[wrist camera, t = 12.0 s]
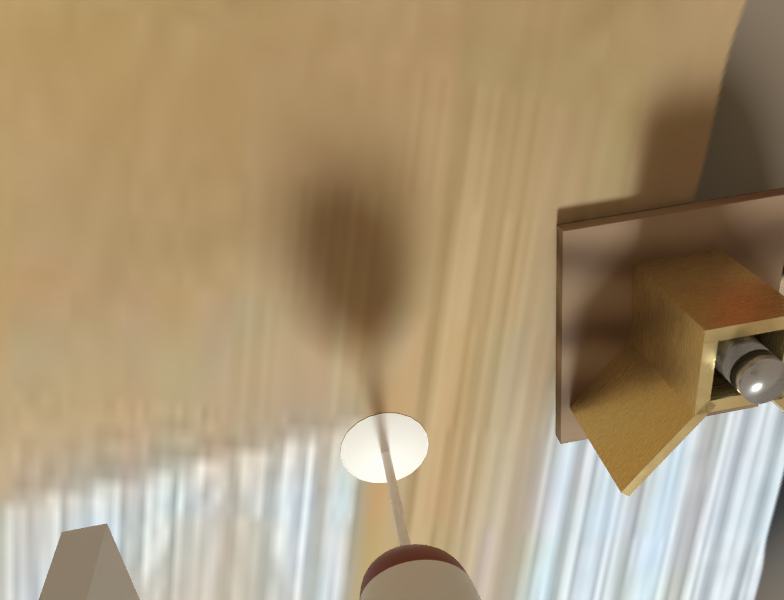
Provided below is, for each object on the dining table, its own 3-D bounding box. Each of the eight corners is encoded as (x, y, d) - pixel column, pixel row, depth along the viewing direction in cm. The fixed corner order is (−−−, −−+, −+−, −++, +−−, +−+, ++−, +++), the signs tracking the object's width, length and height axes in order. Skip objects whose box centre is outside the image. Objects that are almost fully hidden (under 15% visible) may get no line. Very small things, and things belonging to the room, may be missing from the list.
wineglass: (347, 403, 57) (381, 617, 40) (447, 419, 59) (521, 627, 42) (323, 478, 60) (344, 706, 43) (418, 490, 63) (476, 710, 45)
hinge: (571, 273, 53) (631, 343, 44) (779, 238, 54) (877, 299, 45) (569, 412, 59) (620, 497, 51) (755, 377, 61) (836, 454, 52)
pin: (668, 271, 54) (763, 356, 44) (701, 283, 55) (800, 369, 45) (646, 306, 55) (732, 396, 45) (678, 317, 56) (770, 408, 46)
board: (557, 225, 52) (562, 231, 51) (786, 187, 54) (796, 192, 52) (555, 435, 62) (560, 443, 61) (749, 398, 63) (757, 406, 62)
